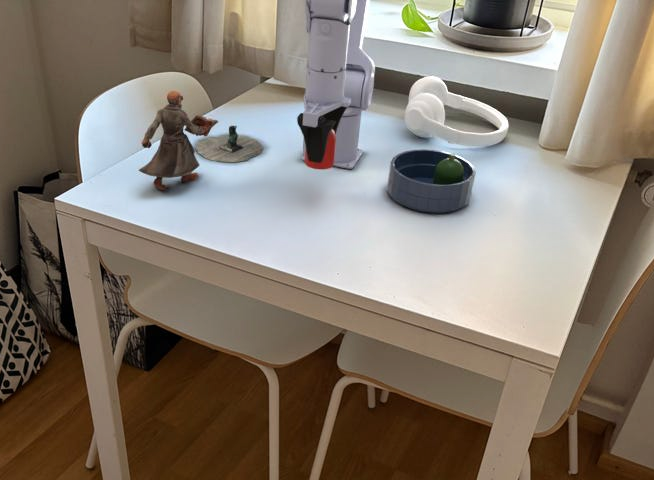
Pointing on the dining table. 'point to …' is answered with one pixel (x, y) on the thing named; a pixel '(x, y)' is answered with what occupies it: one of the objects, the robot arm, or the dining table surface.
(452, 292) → the dining table surface
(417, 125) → the headphones
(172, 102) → the figurine
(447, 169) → the green pepper
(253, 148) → the sculpture
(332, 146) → the red pepper
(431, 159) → the shallow round dish
